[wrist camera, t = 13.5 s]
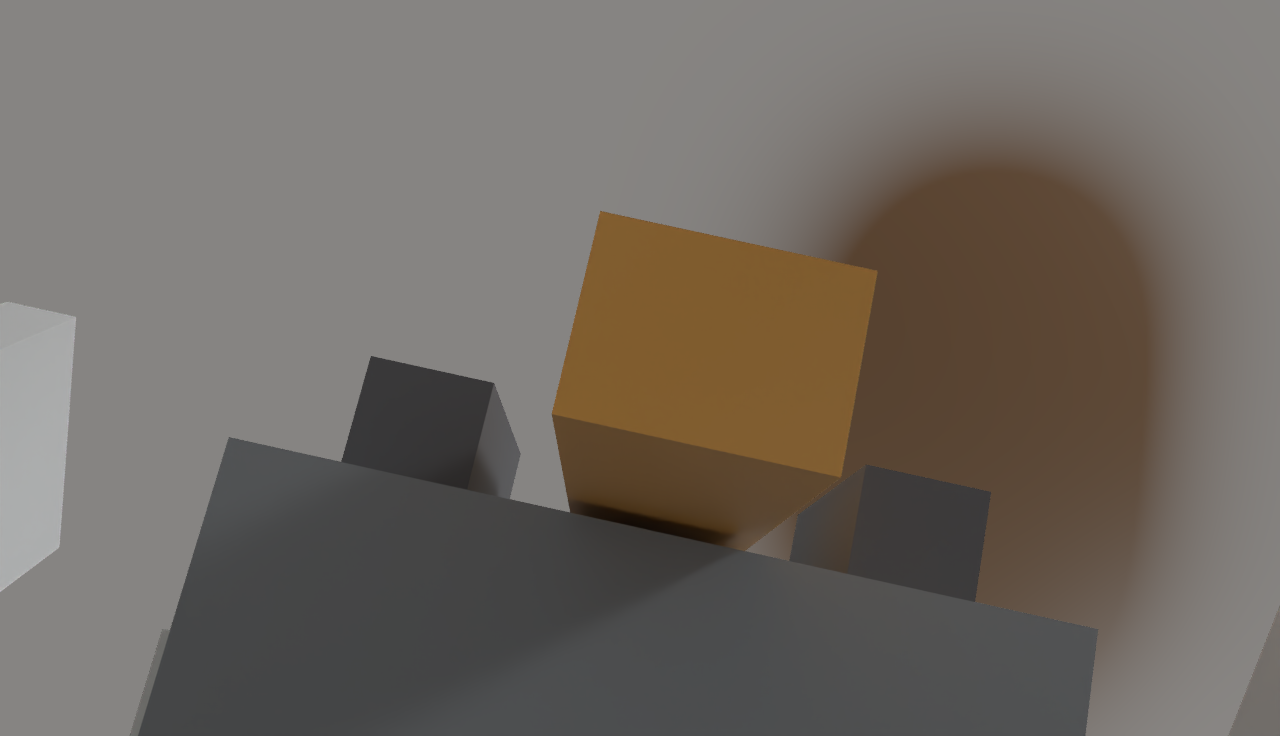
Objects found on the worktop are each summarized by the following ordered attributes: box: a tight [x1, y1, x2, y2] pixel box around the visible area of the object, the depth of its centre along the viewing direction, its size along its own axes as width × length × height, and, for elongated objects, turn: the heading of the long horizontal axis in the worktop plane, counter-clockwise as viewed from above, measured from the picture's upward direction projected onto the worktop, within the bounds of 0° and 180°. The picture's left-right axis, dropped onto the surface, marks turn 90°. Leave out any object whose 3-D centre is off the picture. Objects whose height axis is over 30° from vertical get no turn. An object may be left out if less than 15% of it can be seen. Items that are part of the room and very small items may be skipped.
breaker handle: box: [552, 211, 877, 551], centre depth 25 cm, size 4×18×3 cm, turn 2°
